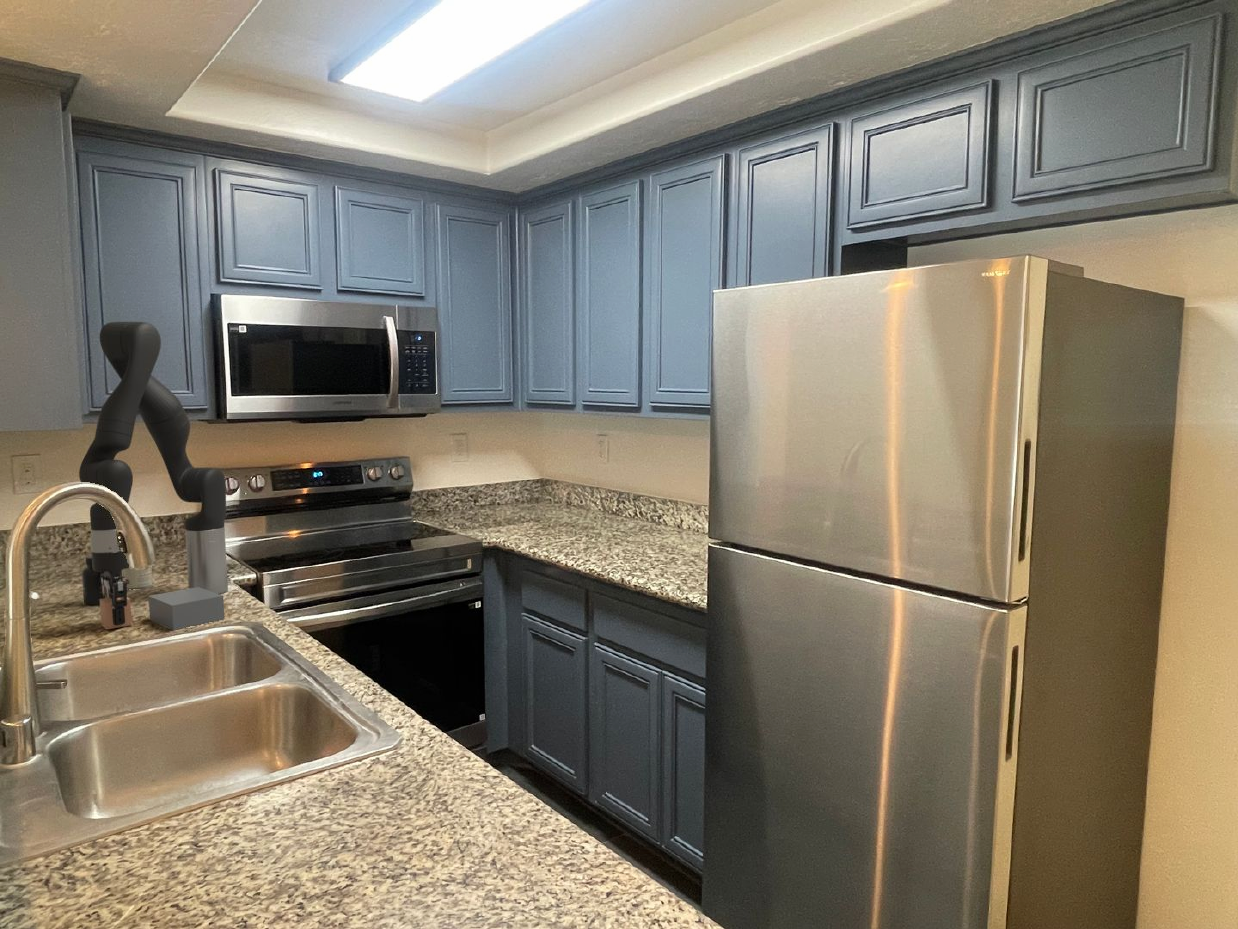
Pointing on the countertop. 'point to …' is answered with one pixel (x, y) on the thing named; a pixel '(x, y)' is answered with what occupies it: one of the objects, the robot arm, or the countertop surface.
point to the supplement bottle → (91, 584)
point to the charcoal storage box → (186, 608)
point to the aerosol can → (138, 577)
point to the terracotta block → (108, 615)
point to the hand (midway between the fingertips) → (116, 621)
